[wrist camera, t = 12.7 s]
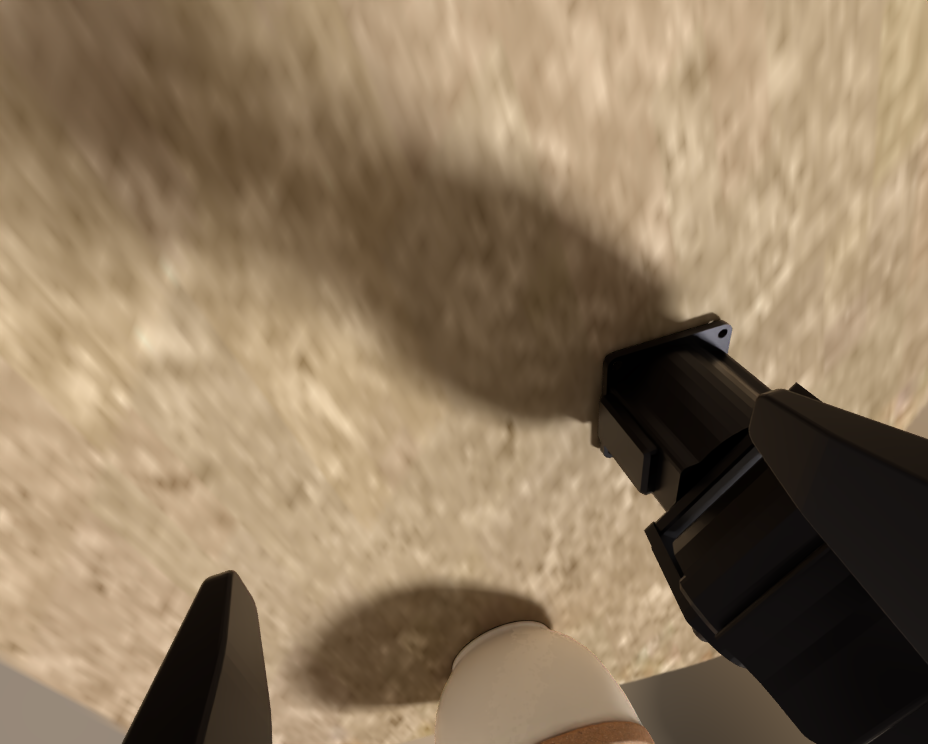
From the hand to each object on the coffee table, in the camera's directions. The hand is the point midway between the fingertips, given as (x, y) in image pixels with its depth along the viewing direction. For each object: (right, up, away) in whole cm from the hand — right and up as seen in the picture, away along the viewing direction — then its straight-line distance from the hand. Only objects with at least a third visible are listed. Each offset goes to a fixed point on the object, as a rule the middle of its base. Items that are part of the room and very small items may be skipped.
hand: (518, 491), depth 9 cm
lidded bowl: (+2, -17, +30) cm, 35 cm away
